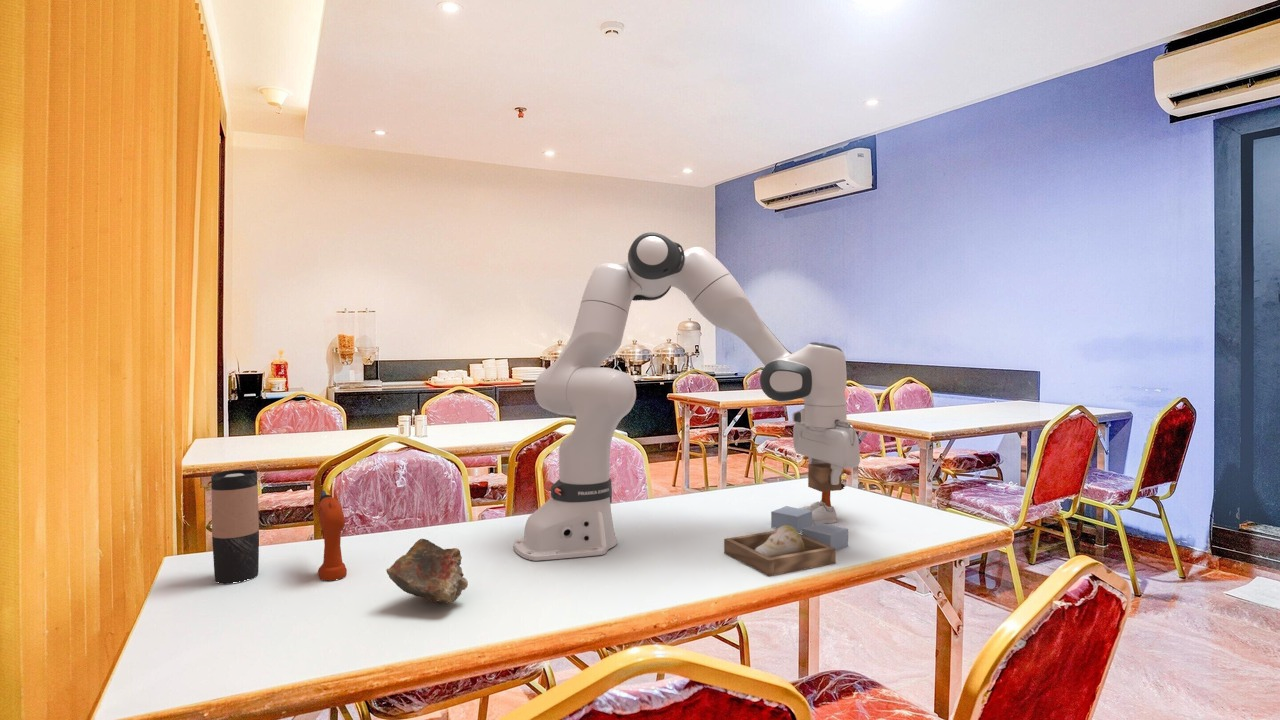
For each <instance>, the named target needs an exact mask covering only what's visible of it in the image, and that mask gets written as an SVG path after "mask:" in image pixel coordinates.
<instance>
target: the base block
mask: <svg viewBox="0 0 1280 720" xmlns="http://www.w3.org/2000/svg"><path fill="white" fill-rule="evenodd" d="M801 535H804V536H806V537H809V538H811V539H814V540H816V541H819V542H821V543H824V544H826V545H829V546H831V547H834V548H836V552H837V551H839V550H842V549H844V548H847V547H849V529H848V528H845V527H841V526H837V525H832V524H830V523H817V524H812V525H811V526H808V527H805V528H802V531H801Z"/></svg>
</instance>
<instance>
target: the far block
mask: <svg viewBox="0 0 1280 720" xmlns="http://www.w3.org/2000/svg"><path fill="white" fill-rule="evenodd" d="M799 508H800V507H793V506H787V505H786V506H783V507H781V508H778V509H774V510H772V511H771V512H770V515H771V517H770V519H771V520H770V523H771V528H773V527H776V528H775V529H777V528H779V527H781V526H785V525H788V526H791V527H793V528H794V529H795V530H796V531H797V532H798V533H800V531H801V532H802V528H805V527H808V526H811V525H813V524H812V511H810V510H805V509H799Z"/></svg>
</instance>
